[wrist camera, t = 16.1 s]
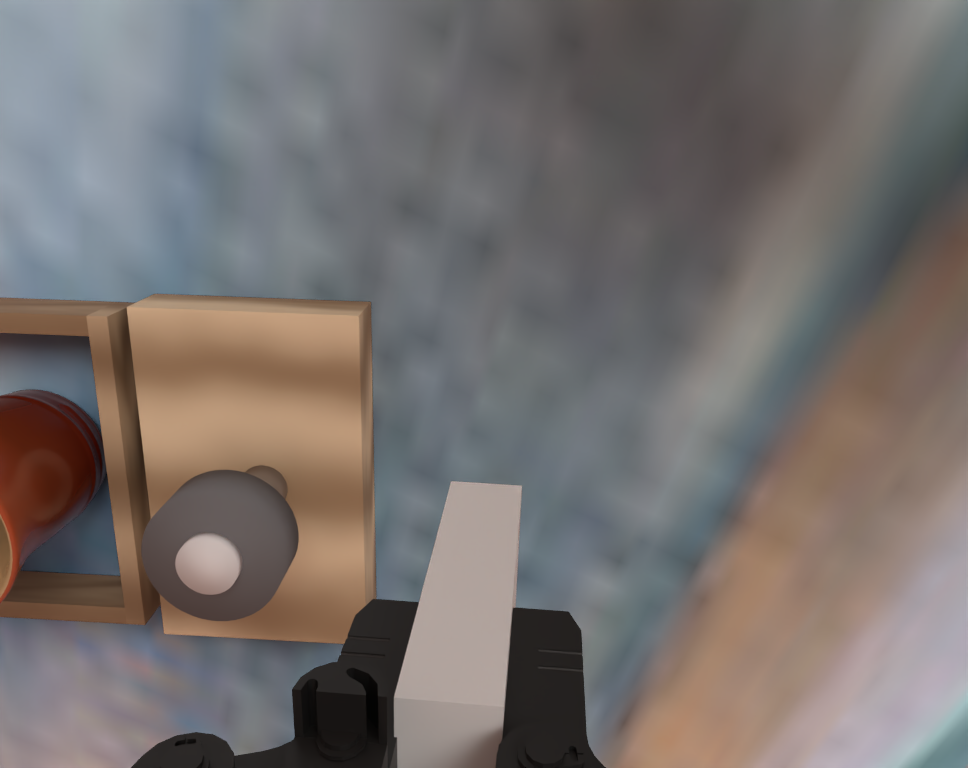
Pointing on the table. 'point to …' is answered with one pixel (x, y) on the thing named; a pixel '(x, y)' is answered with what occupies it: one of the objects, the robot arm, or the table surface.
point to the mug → (43, 472)
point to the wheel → (220, 545)
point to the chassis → (224, 446)
